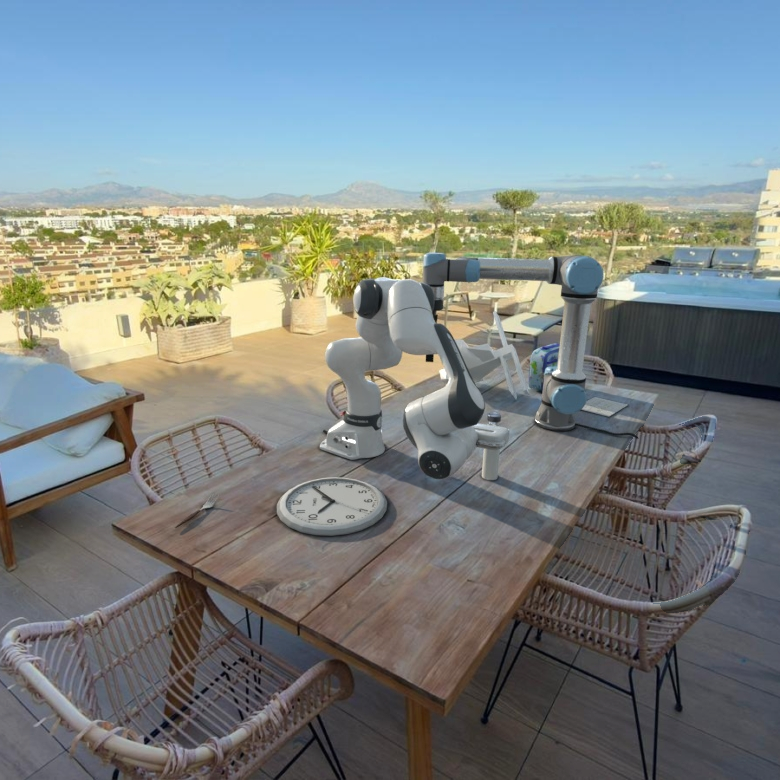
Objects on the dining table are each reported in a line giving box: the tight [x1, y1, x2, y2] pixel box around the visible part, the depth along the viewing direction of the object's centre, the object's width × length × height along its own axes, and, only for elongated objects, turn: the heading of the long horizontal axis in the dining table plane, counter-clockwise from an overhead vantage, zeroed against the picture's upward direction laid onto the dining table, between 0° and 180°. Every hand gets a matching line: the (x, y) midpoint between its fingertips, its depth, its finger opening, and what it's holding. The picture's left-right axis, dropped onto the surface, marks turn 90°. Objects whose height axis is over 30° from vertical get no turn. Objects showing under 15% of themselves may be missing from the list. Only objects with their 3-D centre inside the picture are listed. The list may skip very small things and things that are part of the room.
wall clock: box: [276, 476, 388, 537], centre depth 142 cm, size 30×2×30 cm
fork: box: [174, 492, 220, 529], centre depth 137 cm, size 3×16×2 cm, turn 160°
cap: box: [487, 412, 502, 423], centre depth 155 cm, size 4×4×2 cm
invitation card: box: [580, 396, 629, 418], centre depth 226 cm, size 21×1×15 cm
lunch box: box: [528, 343, 560, 392], centre depth 249 cm, size 26×11×21 cm, turn 134°
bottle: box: [481, 421, 502, 481], centre depth 158 cm, size 5×5×20 cm
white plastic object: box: [438, 310, 531, 400], centre depth 245 cm, size 37×45×31 cm
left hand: (475, 422), depth 135 cm, fingers open, 8 cm apart
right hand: (430, 357), depth 190 cm, fingers open, 13 cm apart
